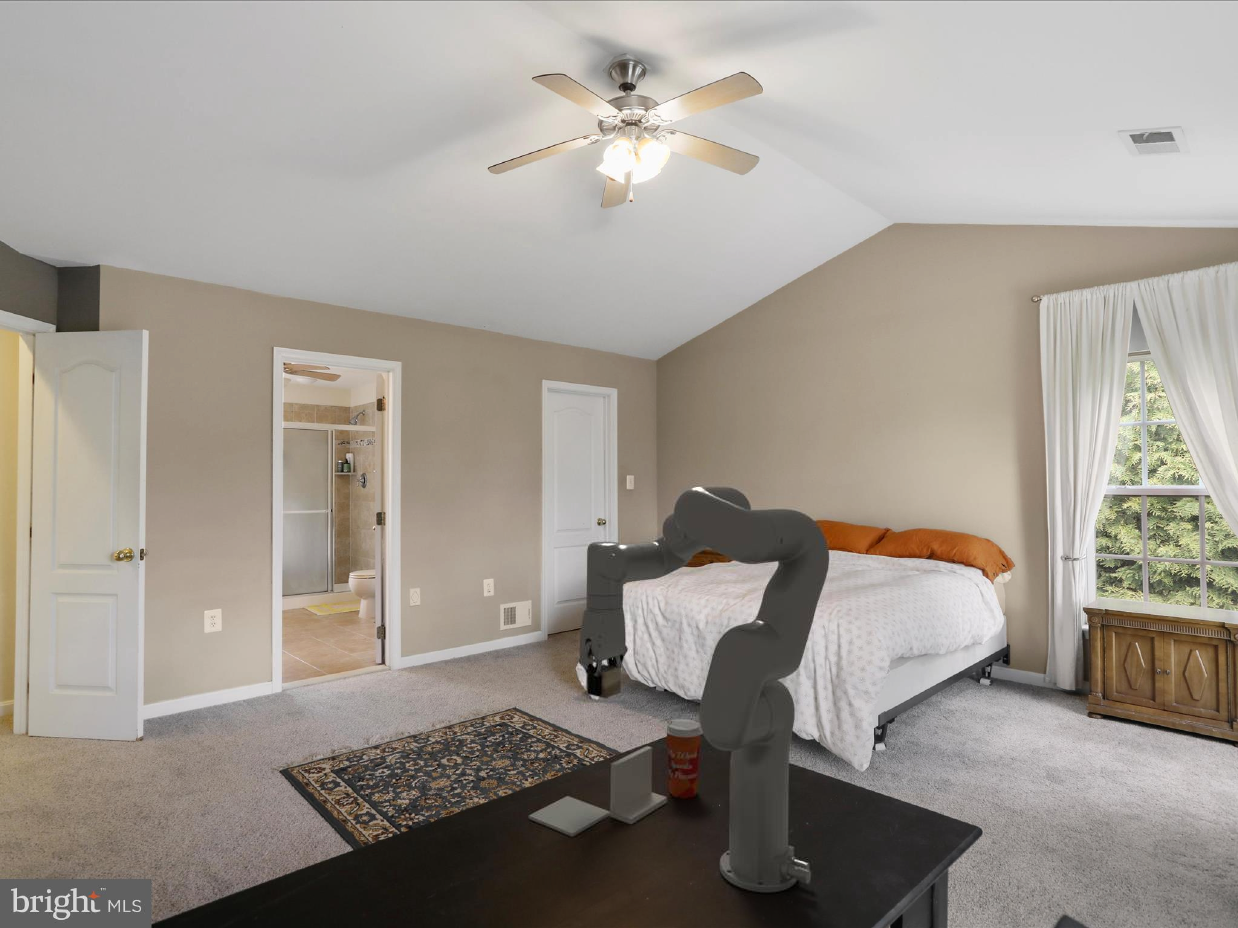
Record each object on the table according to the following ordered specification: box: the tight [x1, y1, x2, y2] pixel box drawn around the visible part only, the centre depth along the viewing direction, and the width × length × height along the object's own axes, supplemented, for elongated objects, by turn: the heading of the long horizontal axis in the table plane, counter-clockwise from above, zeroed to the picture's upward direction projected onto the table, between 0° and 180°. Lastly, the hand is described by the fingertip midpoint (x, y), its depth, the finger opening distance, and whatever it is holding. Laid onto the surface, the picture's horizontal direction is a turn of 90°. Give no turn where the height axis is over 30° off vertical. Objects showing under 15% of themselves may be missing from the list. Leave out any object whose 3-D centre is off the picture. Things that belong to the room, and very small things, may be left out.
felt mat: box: [528, 795, 610, 838], centre depth 136 cm, size 11×11×1 cm
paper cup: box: [665, 718, 703, 799], centre depth 148 cm, size 8×8×14 cm
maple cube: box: [585, 664, 622, 699], centre depth 146 cm, size 5×5×5 cm
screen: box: [609, 745, 668, 825], centre depth 140 cm, size 5×12×10 cm, turn 142°
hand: (603, 690), depth 146 cm, fingers closed on maple cube, 5 cm apart
